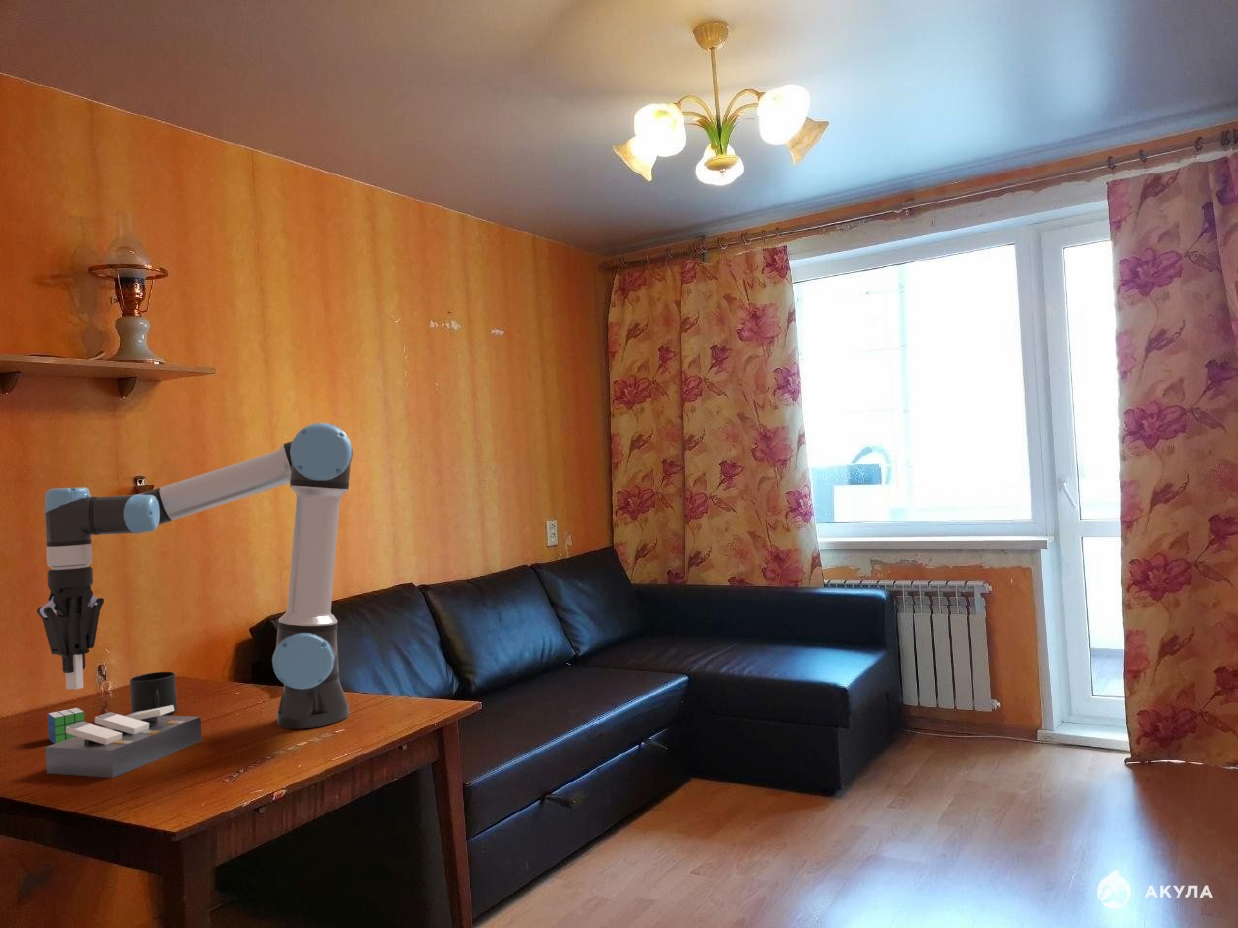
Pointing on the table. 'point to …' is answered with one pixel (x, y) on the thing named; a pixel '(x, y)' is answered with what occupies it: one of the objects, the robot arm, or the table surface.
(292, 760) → the table surface
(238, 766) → the table surface
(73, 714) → the puzzle toy
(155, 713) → the block
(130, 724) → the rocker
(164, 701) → the mug
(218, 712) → the table surface
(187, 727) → the switch unit
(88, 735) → the rocker
